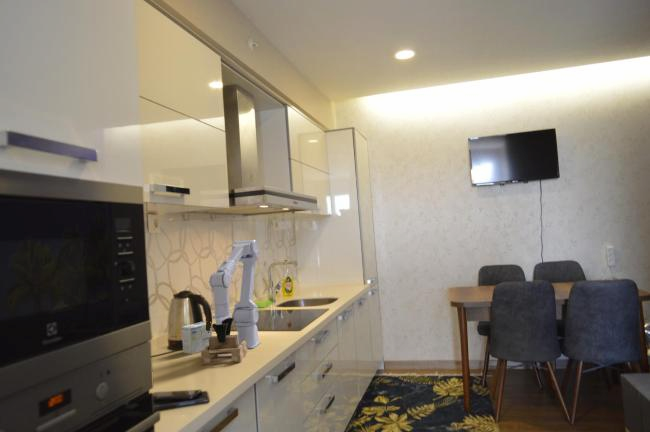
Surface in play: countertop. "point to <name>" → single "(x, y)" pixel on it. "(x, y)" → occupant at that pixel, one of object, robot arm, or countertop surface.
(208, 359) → the wooden stool
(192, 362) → the countertop surface
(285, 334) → the countertop surface
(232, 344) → the brown wooden block
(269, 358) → the countertop surface
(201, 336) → the light bulb box
